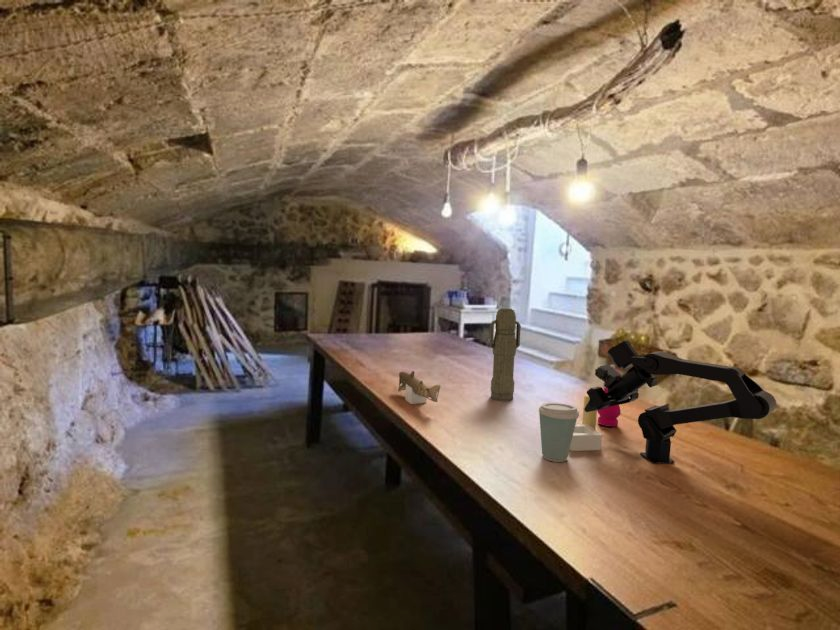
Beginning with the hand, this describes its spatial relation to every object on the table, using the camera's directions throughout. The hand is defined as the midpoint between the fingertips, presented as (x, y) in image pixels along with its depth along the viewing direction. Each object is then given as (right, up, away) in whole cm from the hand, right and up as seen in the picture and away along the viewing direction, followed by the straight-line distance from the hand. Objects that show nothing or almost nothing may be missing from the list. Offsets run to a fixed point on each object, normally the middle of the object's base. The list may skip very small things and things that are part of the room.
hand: (594, 408), depth 152 cm
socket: (-7, -10, -6) cm, 13 cm away
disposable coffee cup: (-16, -11, -16) cm, 25 cm away
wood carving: (-55, -4, +32) cm, 63 cm away
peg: (-1, -9, +2) cm, 9 cm away
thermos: (-22, -4, +41) cm, 47 cm away
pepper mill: (+9, -8, +13) cm, 17 cm away
